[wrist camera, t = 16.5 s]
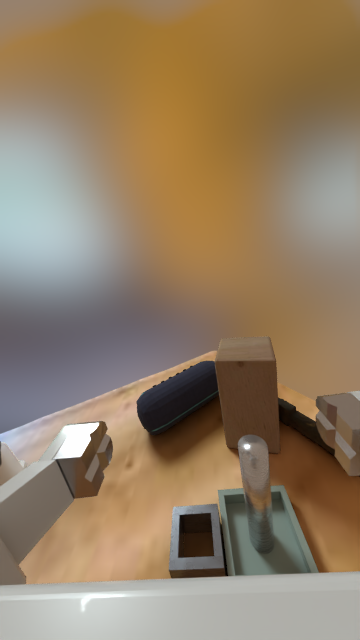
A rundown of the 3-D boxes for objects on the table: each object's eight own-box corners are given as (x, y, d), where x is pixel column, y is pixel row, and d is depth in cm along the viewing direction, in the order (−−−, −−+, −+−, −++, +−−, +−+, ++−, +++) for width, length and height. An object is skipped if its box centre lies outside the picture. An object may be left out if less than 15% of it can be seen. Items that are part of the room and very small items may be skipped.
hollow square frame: (175, 589, 26) (168, 570, 24) (177, 525, 32) (173, 507, 30) (227, 588, 25) (224, 568, 24) (220, 522, 31) (217, 503, 30)
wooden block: (280, 455, 39) (276, 360, 33) (226, 448, 42) (213, 360, 37) (274, 415, 48) (269, 335, 42) (229, 412, 51) (220, 337, 46)
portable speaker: (209, 380, 66) (204, 352, 63) (233, 394, 57) (229, 362, 55) (135, 425, 53) (126, 391, 50) (153, 451, 45) (143, 413, 42)
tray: (231, 598, 24) (229, 586, 23) (219, 501, 34) (217, 490, 33) (322, 596, 23) (323, 582, 22) (284, 496, 33) (283, 485, 32)
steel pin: (252, 554, 27) (241, 460, 22) (246, 523, 30) (235, 436, 25) (278, 553, 27) (272, 458, 22) (269, 522, 30) (262, 433, 25)
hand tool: (374, 468, 34) (377, 446, 33) (360, 481, 33) (363, 459, 32) (278, 405, 51) (277, 389, 50) (265, 412, 50) (264, 396, 48)
